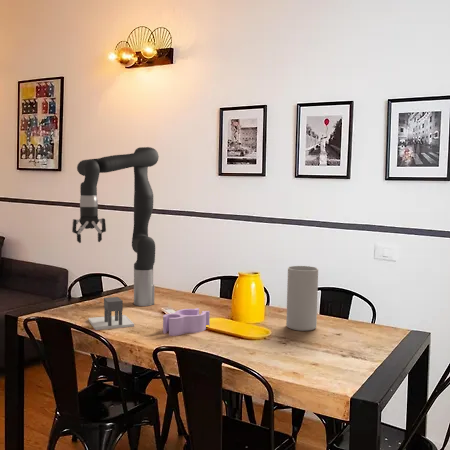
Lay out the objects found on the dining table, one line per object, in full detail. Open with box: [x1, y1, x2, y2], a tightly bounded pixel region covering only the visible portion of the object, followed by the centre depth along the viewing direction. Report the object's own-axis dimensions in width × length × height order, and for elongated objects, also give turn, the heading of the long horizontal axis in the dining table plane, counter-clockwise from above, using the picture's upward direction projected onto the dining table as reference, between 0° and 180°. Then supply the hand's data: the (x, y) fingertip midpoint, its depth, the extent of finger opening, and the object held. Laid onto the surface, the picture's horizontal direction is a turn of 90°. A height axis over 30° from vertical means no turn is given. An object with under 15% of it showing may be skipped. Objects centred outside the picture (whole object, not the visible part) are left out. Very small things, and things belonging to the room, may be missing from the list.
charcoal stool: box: [103, 296, 124, 326], centre depth 235 cm, size 6×10×8 cm
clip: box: [162, 307, 211, 337], centre depth 231 cm, size 20×12×7 cm, turn 134°
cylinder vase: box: [285, 265, 319, 332], centre depth 236 cm, size 12×12×25 cm
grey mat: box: [87, 314, 135, 331], centre depth 239 cm, size 16×16×1 cm
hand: (89, 242), depth 250 cm, fingers open, 8 cm apart
